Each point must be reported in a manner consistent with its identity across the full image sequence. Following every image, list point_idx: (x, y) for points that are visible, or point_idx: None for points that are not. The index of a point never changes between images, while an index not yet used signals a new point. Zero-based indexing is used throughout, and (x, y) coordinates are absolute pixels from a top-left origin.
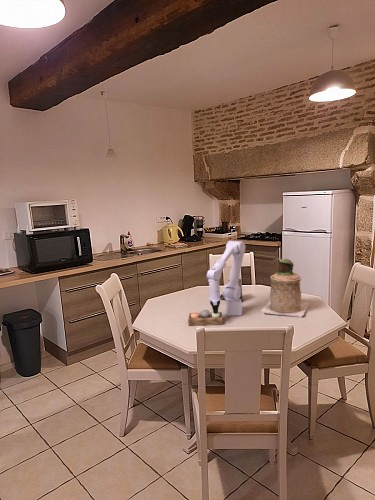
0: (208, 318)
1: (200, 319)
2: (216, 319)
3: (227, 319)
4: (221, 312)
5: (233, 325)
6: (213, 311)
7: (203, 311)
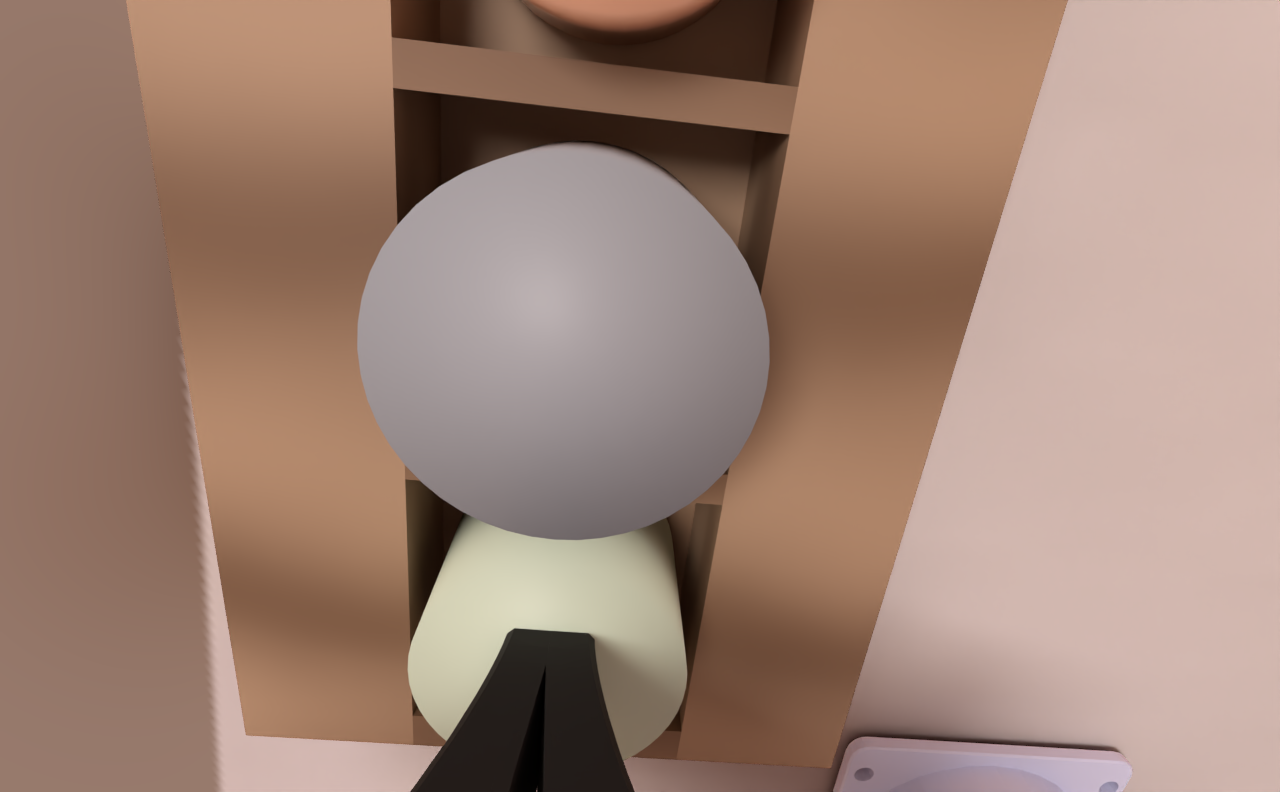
0: (319, 392)
1: (202, 72)
2: (226, 608)
3: None
4: (797, 760)
5: (292, 784)
6: (480, 690)
7: (571, 289)
